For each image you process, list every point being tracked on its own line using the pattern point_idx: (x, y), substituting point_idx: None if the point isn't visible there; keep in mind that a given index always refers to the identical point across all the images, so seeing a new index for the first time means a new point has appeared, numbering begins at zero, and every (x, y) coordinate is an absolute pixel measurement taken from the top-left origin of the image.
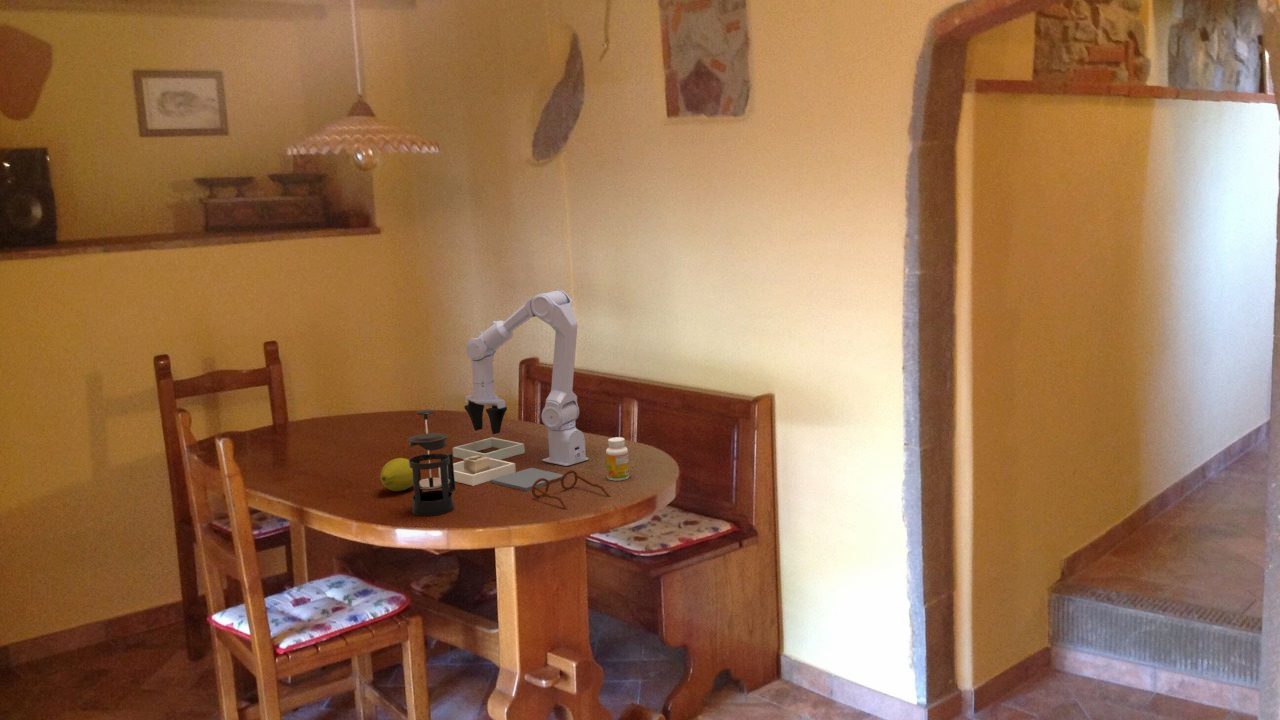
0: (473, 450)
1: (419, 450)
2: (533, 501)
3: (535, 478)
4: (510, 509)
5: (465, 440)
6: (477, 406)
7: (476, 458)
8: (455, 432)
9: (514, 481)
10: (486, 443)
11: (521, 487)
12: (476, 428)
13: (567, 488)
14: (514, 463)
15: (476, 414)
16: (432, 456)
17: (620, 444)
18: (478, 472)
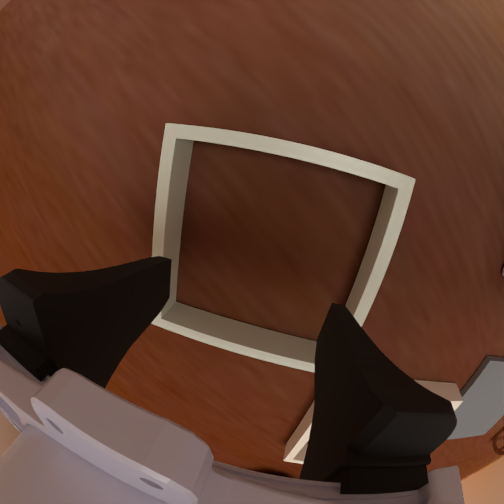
0: (177, 236)
1: (54, 266)
2: (491, 442)
3: (499, 402)
4: (466, 464)
5: (64, 121)
6: (71, 362)
7: None
8: (19, 87)
9: (465, 428)
10: (179, 169)
11: (477, 434)
12: (164, 301)
13: None
14: (461, 402)
15: (112, 338)
16: None
17: None
18: None
